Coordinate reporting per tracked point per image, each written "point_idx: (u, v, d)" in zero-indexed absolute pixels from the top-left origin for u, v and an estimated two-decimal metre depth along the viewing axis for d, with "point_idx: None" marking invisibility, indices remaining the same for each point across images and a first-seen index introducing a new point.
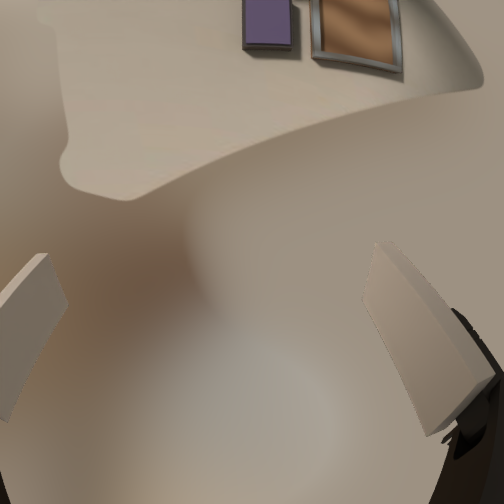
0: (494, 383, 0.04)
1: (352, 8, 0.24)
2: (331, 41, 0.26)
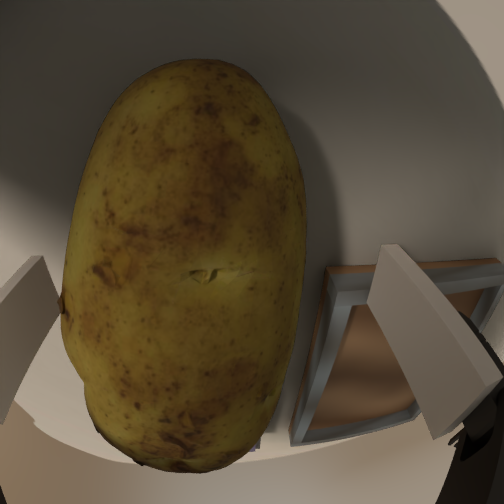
0: (501, 386, 0.04)
1: (385, 372, 0.16)
2: (324, 419, 0.19)
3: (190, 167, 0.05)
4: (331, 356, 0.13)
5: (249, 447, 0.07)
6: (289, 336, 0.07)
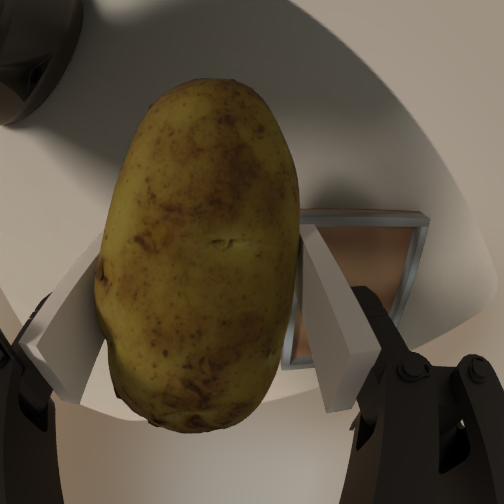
0: None
1: None
2: (306, 344, 0.28)
3: (214, 162, 0.07)
4: None
5: (255, 402, 0.08)
6: (287, 301, 0.09)
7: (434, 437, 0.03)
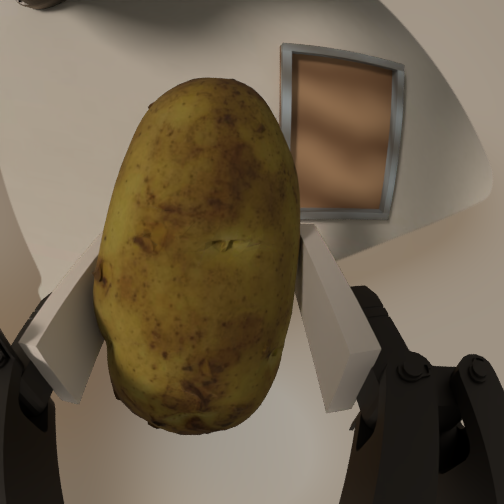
0: None
1: (338, 132, 0.25)
2: (303, 189, 0.28)
3: (214, 162, 0.07)
4: (289, 84, 0.21)
5: (255, 404, 0.08)
6: (288, 302, 0.09)
7: (434, 437, 0.03)
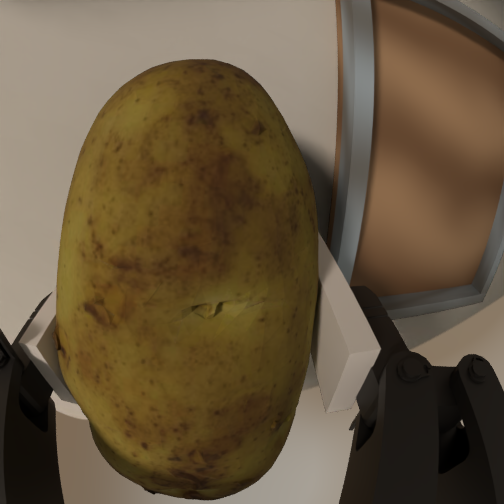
0: None
1: (445, 157, 0.11)
2: (373, 268, 0.13)
3: (184, 189, 0.04)
4: (367, 38, 0.07)
5: (264, 473, 0.06)
6: (303, 361, 0.07)
7: (434, 437, 0.03)
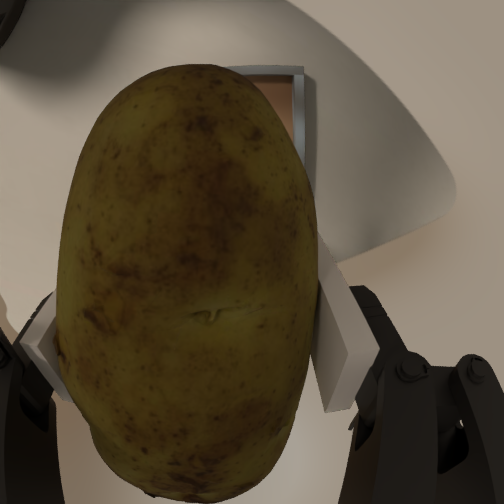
0: None
1: None
2: None
3: (183, 196, 0.04)
4: None
5: (263, 477, 0.06)
6: (303, 366, 0.07)
7: (433, 437, 0.03)
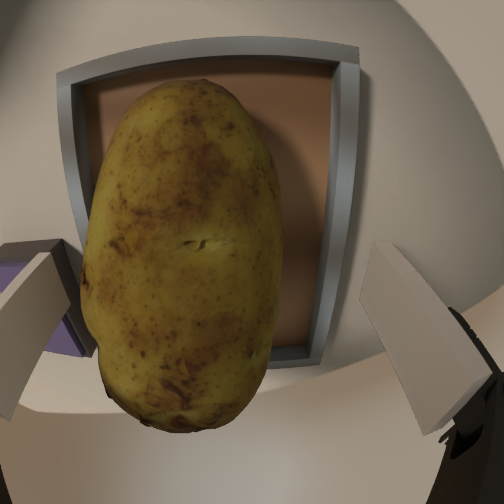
0: (491, 382, 0.04)
1: None
2: None
3: (181, 164, 0.07)
4: (72, 158, 0.10)
5: (240, 403, 0.08)
6: (270, 300, 0.09)
7: None
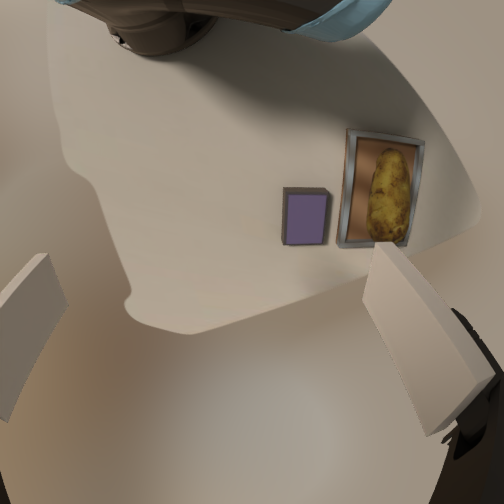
0: (494, 383, 0.04)
1: None
2: (354, 227, 0.41)
3: (402, 170, 0.31)
4: (353, 159, 0.34)
5: (408, 227, 0.33)
6: None
7: None
